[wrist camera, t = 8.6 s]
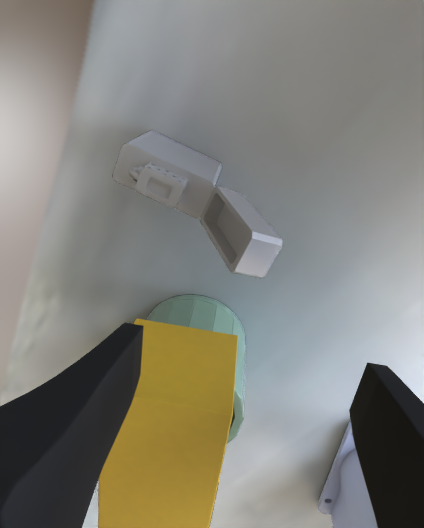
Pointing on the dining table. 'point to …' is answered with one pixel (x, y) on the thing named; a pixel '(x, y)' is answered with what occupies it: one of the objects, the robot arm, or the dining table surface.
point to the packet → (172, 432)
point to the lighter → (199, 199)
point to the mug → (212, 319)
